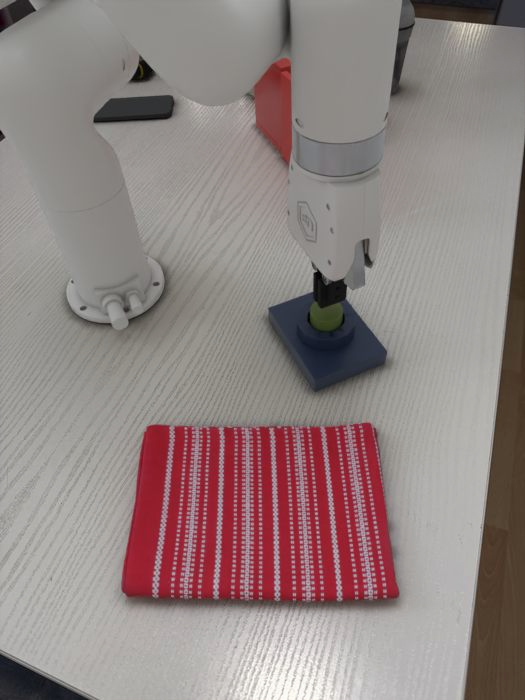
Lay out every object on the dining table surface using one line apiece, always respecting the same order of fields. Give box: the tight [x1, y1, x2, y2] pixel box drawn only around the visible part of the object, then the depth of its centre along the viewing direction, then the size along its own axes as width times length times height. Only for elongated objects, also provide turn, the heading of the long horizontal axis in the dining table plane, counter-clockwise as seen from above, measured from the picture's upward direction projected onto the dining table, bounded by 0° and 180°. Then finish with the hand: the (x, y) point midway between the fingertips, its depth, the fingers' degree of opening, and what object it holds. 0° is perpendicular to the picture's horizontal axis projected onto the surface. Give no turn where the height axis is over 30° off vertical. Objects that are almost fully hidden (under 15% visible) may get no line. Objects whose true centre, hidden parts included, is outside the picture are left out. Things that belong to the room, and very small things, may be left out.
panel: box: [267, 291, 388, 393], centre depth 62 cm, size 12×9×4 cm
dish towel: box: [121, 422, 400, 603], centre depth 50 cm, size 17×24×3 cm
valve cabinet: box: [254, 58, 291, 155], centre depth 90 cm, size 11×18×14 cm, turn 114°
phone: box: [93, 94, 175, 122], centre depth 102 cm, size 7×1×15 cm
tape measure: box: [131, 54, 154, 80], centre depth 110 cm, size 7×7×4 cm
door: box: [281, 71, 292, 165], centre depth 78 cm, size 7×18×14 cm, turn 27°
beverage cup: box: [390, 0, 416, 95], centre depth 95 cm, size 7×7×20 cm
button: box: [310, 302, 343, 332], centre depth 61 cm, size 4×4×2 cm
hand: (329, 299), depth 59 cm, fingers closed
